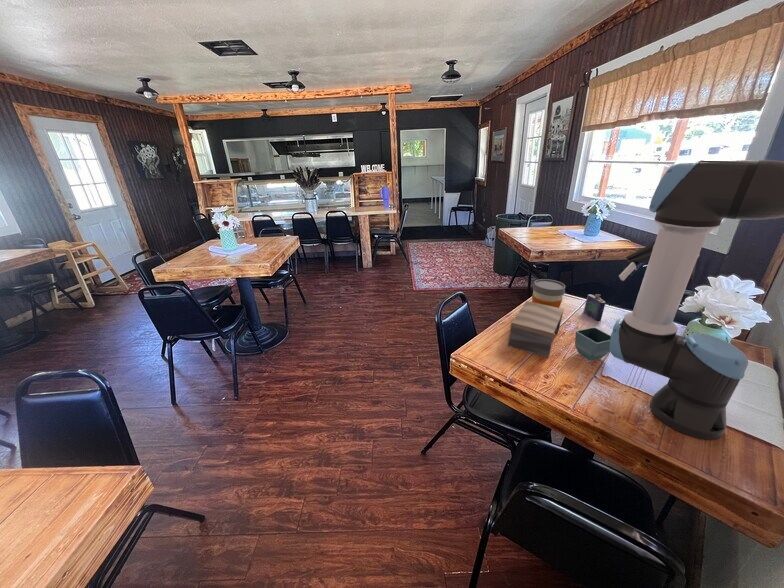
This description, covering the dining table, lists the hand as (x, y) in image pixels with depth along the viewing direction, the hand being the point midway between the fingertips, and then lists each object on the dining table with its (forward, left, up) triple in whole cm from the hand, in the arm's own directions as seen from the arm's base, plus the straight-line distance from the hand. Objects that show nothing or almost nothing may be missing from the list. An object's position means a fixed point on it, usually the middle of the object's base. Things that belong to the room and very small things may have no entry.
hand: (639, 285), depth 105 cm
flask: (+23, +11, -25) cm, 36 cm away
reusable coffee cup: (+13, +29, -25) cm, 40 cm away
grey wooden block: (-9, +28, -25) cm, 38 cm away
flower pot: (-11, +9, -25) cm, 29 cm away
